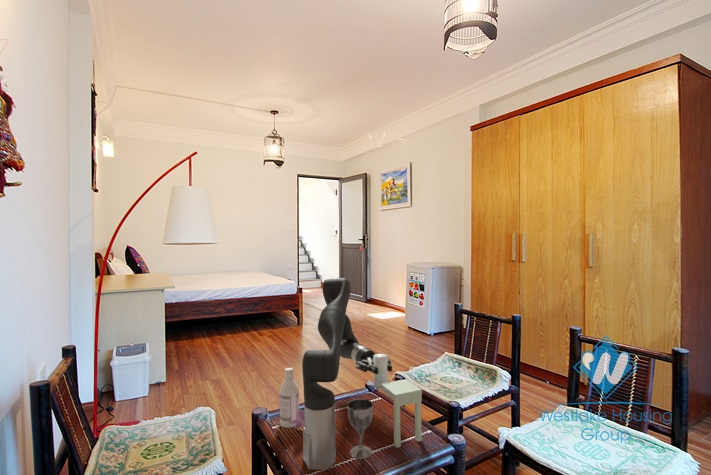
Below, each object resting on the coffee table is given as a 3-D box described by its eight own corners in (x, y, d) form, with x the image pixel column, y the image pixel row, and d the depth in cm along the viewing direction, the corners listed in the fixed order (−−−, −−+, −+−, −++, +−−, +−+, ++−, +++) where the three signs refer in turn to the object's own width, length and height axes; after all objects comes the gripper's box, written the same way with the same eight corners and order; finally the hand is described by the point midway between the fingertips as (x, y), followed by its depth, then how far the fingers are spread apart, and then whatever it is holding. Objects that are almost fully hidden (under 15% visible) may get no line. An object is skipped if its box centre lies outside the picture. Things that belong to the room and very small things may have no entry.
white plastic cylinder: (373, 388, 133) (373, 358, 133) (374, 382, 138) (373, 353, 138) (387, 388, 132) (387, 358, 132) (387, 382, 137) (387, 353, 137)
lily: (331, 433, 127) (325, 404, 132) (320, 436, 117) (314, 404, 121) (300, 442, 129) (295, 413, 133) (286, 446, 118) (281, 414, 123)
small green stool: (396, 448, 116) (395, 395, 116) (381, 433, 125) (381, 383, 125) (422, 441, 120) (421, 389, 120) (406, 426, 129) (406, 379, 129)
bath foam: (294, 417, 137) (293, 364, 137) (302, 424, 132) (301, 369, 132) (276, 422, 133) (276, 368, 133) (285, 430, 128) (284, 373, 128)
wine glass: (374, 445, 118) (373, 399, 118) (372, 460, 110) (372, 410, 110) (349, 444, 118) (349, 398, 118) (346, 459, 110) (346, 409, 111)
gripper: (347, 350, 145) (366, 363, 129) (378, 345, 151) (400, 357, 135) (347, 368, 145) (366, 384, 129) (379, 363, 151) (401, 377, 135)
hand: (384, 370), depth 133 cm, fingers closed on white plastic cylinder, 5 cm apart
